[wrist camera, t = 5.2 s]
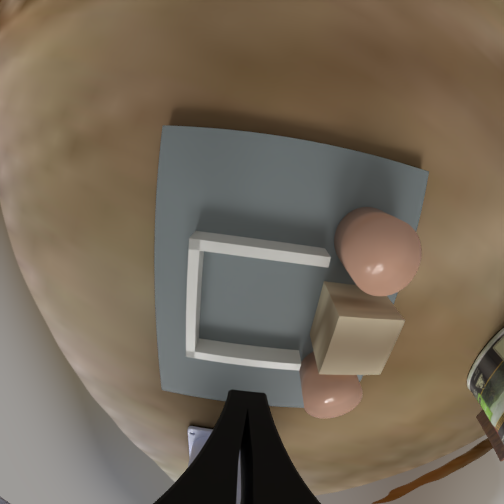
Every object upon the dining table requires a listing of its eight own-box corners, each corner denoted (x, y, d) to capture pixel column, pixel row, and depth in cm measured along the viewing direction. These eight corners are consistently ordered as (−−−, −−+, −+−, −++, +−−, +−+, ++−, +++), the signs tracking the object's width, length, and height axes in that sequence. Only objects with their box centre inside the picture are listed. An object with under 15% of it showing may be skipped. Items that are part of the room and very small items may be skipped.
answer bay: (297, 356, 19) (299, 370, 18) (190, 343, 19) (185, 356, 18) (325, 248, 16) (330, 257, 15) (195, 230, 16) (189, 238, 15)
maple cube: (362, 337, 18) (379, 374, 15) (309, 333, 18) (318, 374, 15) (380, 287, 17) (405, 320, 13) (323, 281, 17) (339, 316, 13)
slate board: (343, 399, 22) (346, 407, 21) (164, 381, 22) (161, 389, 21) (420, 170, 15) (428, 171, 14) (168, 126, 15) (162, 125, 14)
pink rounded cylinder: (341, 385, 20) (350, 417, 17) (293, 383, 20) (297, 418, 17) (358, 347, 19) (371, 380, 15) (306, 345, 19) (313, 380, 15)
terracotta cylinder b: (394, 267, 16) (418, 290, 13) (335, 274, 17) (349, 301, 13) (395, 204, 15) (422, 215, 12) (332, 209, 16) (348, 221, 12)
